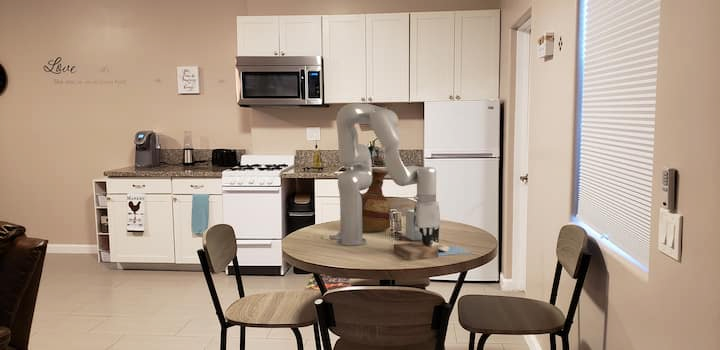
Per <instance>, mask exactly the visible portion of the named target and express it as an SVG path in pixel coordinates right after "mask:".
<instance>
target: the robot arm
mask: <svg viewBox="0 0 720 350" xmlns="http://www.w3.org/2000/svg"><path fill="white" fill-rule="evenodd" d="M336 115H337V116H336V119H335V120H336V130H337V131H336V132H337V144H338V157H339V163H340V164H341V165H342V166H343V167H345V168H346V167H347V168H348V167H349V168H352V169H348V170H345V171H343V172H341V173H340V174H339V176H338V178H337V188H338V189H337V190H338V194H339V211H340V213H339V216H340V220H339V221H340V222H339V223H340V229H339V230H340V231H338V232H337V233H336V234H329V240H330V241H331V240H332V241H333V240H334V241H336V243H337V244H338V245H339V246H340V245H341V246H348V247H352V246H353V247H354V246H356V247H357V246H362V245H364V244H366V243H367V240H366V238H363V231H362V198H361V195H360V193H361V192H359V191H365V190H368V188H369V187H370V185H371V183H372V169H373V167H372V165H373V164H372V155H371V151H370V149H369V147H368V146H366V145H365V144H362V143H359V134H358V130H357V129H356V127H355V125H356V124H357V125H358V124H367V125H370V127H371V129H372V131H373V133H374V135H375V137H376V138H377V141H378V142H379V144H380V146H381V148H382V150H383V160H384V165H385V168H386V171H388V172H389V173H388V174H389V175H390V178H391V179H392V181H393V182H394V184H396V185H398V186H399V187H407V186H413V185H416V195H415V196H414V197H413V200H415V202H414V208H413V210H414V214H413V225H414V230H416V231H419V232H420V233H421V234H422V239H421V242H422V243H423V244H425V245H430V235H431V234H432V232H433V231H434V230H435V229H438V228H439V229H440V225H441V214H440V213H441V211H440V206H439V201H437V170H436V168H434V167H432V166H416V165H407V166H405V164H404V163H403V161H402V158H401V156H400V147H401V145H402V143H403V139H402V137H401V135H400V134H399V132H398V129H397V126H398V125H399V117H398V115H397V114H396V112H395V111H393V110H391V109H387V108H383V107H380V106H377V105H374V104H370V103H359V102H357V103H355V102H353V103H348V104H346V105H344V106H342V107H341V108H340V110H338V112H337V114H336ZM418 227H419V228H418Z"/></svg>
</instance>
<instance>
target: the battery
mask: <svg viewBox="0 0 720 350" xmlns="http://www.w3.org/2000/svg"><path fill="white" fill-rule="evenodd" d="M439 234H440V227H439V228H438V229H435V230H434V231H433V232H432V234H431V235H430V241H433V242H436V243H439V241H440V238H439V237H440V235H439Z"/></svg>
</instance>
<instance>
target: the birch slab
mask: <svg viewBox="0 0 720 350" xmlns="http://www.w3.org/2000/svg"><path fill="white" fill-rule="evenodd" d="M428 246H430V247H433V248H436V249H440V250H443V251H446V252H448V250H449V247H447V245H445V244H443V243H439V242H438V243H436V242H433V241H430V245H428Z"/></svg>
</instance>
